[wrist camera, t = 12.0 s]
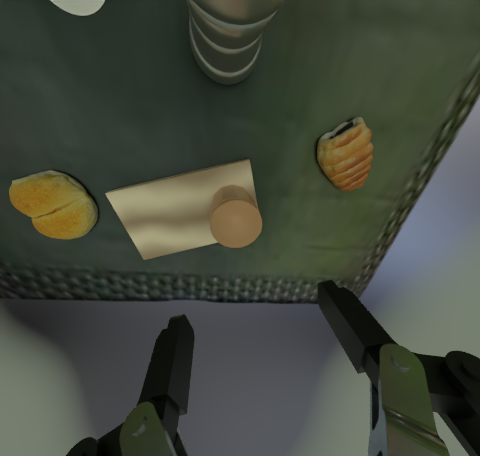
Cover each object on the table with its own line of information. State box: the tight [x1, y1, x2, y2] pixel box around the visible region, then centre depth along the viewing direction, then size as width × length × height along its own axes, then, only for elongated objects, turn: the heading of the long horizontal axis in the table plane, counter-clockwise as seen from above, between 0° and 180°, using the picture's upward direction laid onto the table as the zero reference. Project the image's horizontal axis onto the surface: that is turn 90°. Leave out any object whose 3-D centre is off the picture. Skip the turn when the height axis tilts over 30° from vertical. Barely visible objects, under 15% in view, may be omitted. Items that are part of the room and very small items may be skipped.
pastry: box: [317, 117, 373, 191], centre depth 25 cm, size 9×7×4 cm
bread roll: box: [9, 170, 98, 239], centre depth 23 cm, size 8×9×4 cm
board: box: [105, 158, 262, 260], centre depth 26 cm, size 11×19×2 cm, turn 101°
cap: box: [210, 185, 262, 248], centre depth 23 cm, size 6×6×6 cm
